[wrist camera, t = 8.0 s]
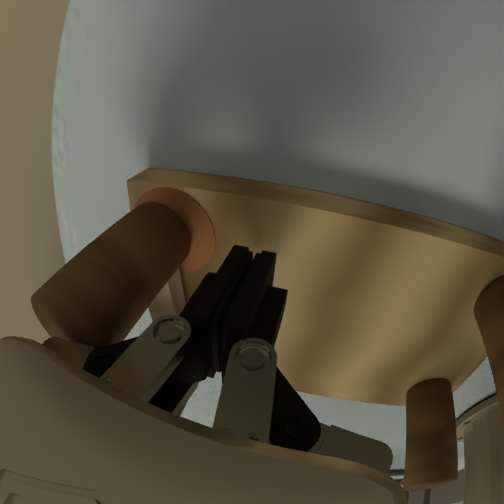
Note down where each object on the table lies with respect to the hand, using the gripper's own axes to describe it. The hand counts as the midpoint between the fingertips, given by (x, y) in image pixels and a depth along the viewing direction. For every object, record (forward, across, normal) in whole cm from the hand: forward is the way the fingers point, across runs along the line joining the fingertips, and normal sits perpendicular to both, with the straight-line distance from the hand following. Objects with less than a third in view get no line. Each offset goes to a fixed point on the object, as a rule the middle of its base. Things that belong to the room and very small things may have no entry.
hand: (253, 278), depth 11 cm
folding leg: (+1, +5, +4) cm, 7 cm away
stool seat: (+4, -4, +4) cm, 7 cm away
